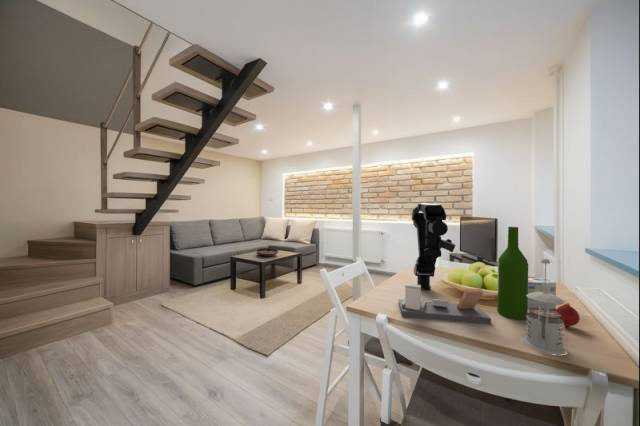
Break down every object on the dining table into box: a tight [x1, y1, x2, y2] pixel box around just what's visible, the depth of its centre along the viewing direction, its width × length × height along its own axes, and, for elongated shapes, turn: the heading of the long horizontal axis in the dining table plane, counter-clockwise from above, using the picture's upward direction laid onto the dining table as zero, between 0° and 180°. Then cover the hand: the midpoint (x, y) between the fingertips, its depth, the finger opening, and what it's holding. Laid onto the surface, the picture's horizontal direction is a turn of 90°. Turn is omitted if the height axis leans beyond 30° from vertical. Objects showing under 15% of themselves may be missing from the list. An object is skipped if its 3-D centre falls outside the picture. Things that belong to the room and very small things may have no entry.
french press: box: [521, 258, 567, 355], centre depth 70 cm, size 10×12×25 cm
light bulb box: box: [528, 277, 557, 310], centre depth 100 cm, size 11×7×11 cm, turn 84°
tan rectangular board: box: [457, 288, 484, 309], centre depth 91 cm, size 1×6×10 cm
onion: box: [555, 302, 581, 328], centre depth 83 cm, size 6×6×8 cm
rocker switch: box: [431, 298, 450, 306], centre depth 94 cm, size 4×5×2 cm
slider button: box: [404, 282, 422, 310], centre depth 93 cm, size 3×5×8 cm, turn 62°
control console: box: [397, 298, 492, 325], centre depth 93 cm, size 12×29×4 cm, turn 78°
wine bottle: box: [496, 226, 529, 321], centre depth 92 cm, size 9×9×32 cm
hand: (432, 269), depth 107 cm, fingers closed
